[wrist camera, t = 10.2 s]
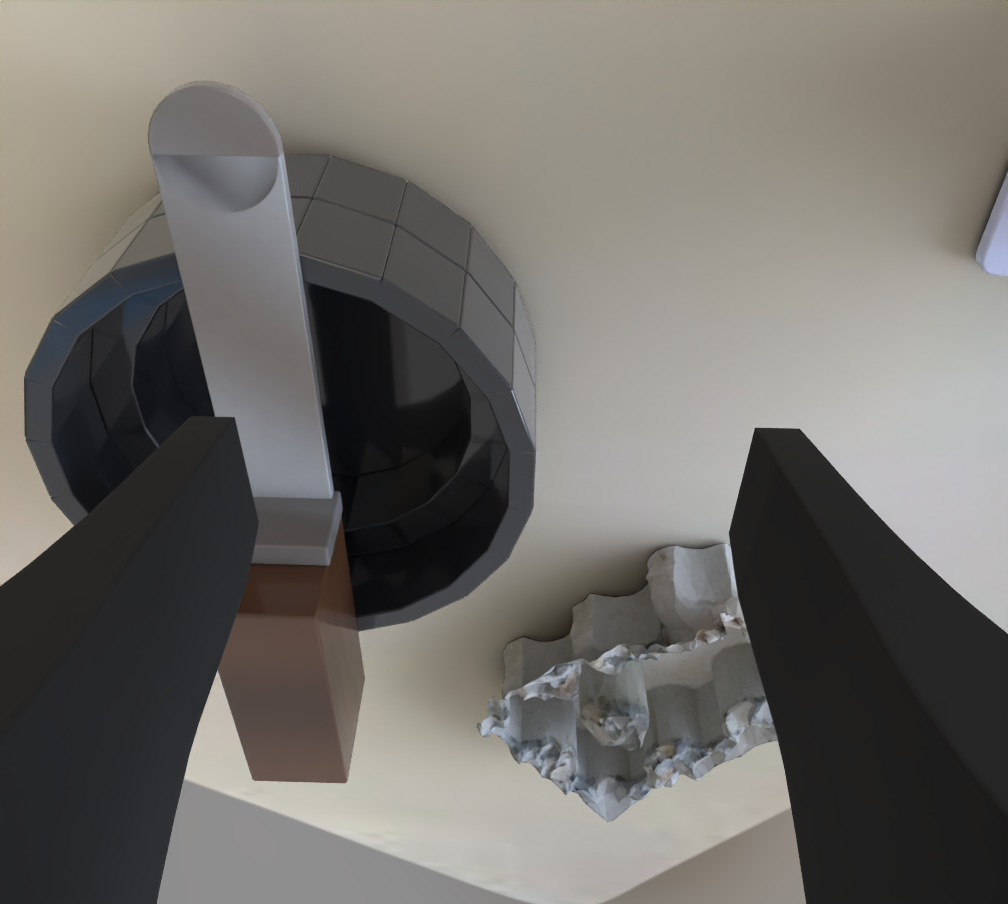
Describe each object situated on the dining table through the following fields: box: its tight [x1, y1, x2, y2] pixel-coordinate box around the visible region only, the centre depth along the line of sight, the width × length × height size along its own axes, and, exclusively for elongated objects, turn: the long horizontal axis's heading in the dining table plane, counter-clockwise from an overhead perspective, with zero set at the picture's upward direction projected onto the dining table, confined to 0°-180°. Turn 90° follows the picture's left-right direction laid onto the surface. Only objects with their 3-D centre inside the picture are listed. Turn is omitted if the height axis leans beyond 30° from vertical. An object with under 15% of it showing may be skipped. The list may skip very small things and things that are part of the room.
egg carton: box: [477, 544, 778, 822], centre depth 30 cm, size 11×8×4 cm
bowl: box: [24, 154, 536, 631], centre depth 22 cm, size 11×11×5 cm
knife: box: [148, 81, 365, 783], centre depth 19 cm, size 16×2×3 cm, turn 179°
